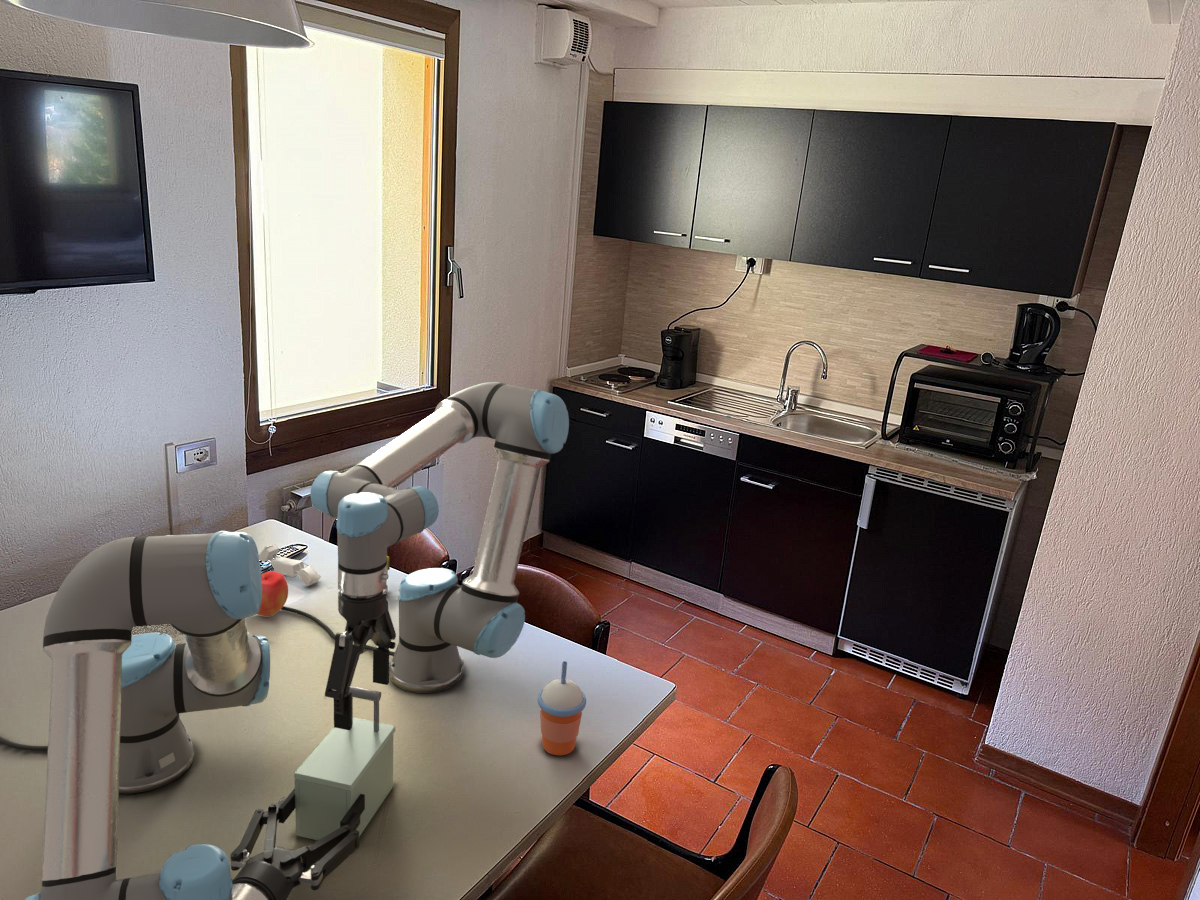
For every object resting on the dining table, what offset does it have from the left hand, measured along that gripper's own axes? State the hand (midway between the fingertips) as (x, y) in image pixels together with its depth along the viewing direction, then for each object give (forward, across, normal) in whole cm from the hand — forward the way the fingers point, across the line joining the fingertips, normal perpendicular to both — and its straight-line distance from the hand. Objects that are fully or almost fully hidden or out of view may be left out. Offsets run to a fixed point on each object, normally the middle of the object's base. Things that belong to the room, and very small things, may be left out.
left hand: (332, 794), depth 136 cm
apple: (+58, -48, -7) cm, 76 cm away
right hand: (+10, 0, +10) cm, 14 cm away
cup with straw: (+32, +29, -7) cm, 44 cm away
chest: (+5, 0, -7) cm, 8 cm away
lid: (+5, 0, +4) cm, 6 cm away
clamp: (+78, -55, -7) cm, 95 cm away
